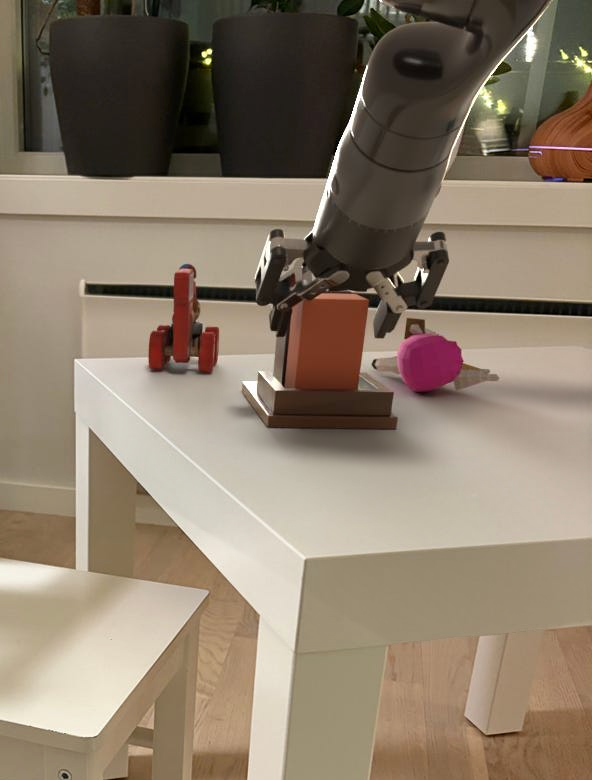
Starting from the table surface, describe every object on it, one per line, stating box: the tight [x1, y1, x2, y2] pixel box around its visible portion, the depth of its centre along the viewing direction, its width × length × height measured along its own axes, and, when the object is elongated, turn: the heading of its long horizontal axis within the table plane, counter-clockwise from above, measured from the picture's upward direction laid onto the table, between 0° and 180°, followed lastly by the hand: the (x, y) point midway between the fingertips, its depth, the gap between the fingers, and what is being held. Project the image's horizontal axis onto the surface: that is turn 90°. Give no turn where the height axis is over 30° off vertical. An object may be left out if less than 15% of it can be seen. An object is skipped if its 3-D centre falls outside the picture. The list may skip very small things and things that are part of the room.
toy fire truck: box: [147, 263, 220, 373], centre depth 105 cm, size 7×12×10 cm, turn 170°
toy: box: [370, 317, 500, 393], centre depth 99 cm, size 7×10×15 cm
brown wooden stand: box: [241, 285, 399, 430], centre depth 87 cm, size 15×11×10 cm
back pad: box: [284, 293, 370, 389], centre depth 85 cm, size 4×6×9 cm
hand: (328, 329), depth 84 cm, fingers open, 8 cm apart
